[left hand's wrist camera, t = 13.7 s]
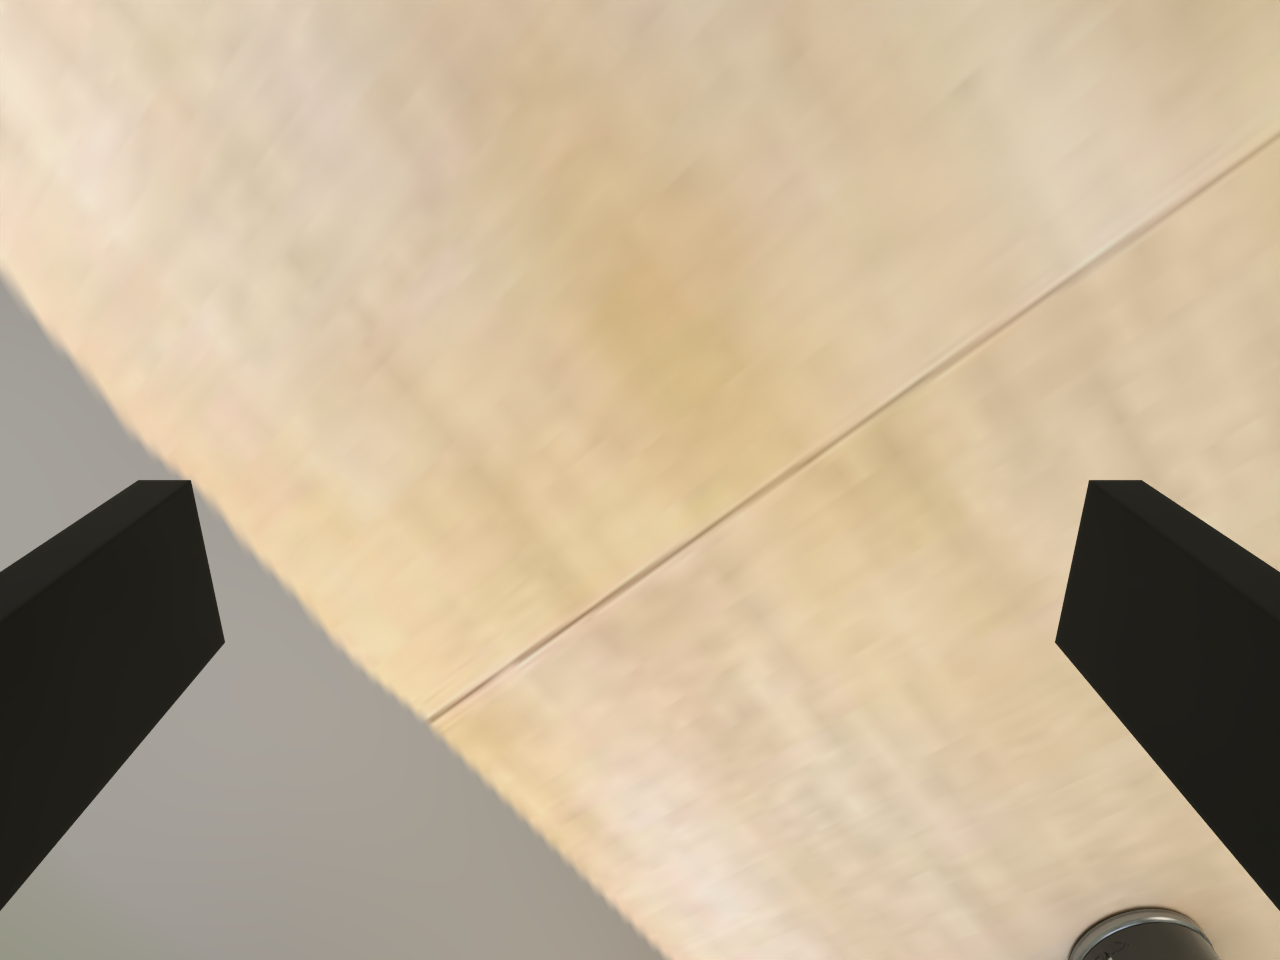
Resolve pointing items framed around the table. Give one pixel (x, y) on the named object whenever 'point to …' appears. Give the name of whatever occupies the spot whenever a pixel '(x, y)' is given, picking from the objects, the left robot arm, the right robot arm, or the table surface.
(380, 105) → the table surface
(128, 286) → the table surface
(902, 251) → the table surface
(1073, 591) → the left robot arm
